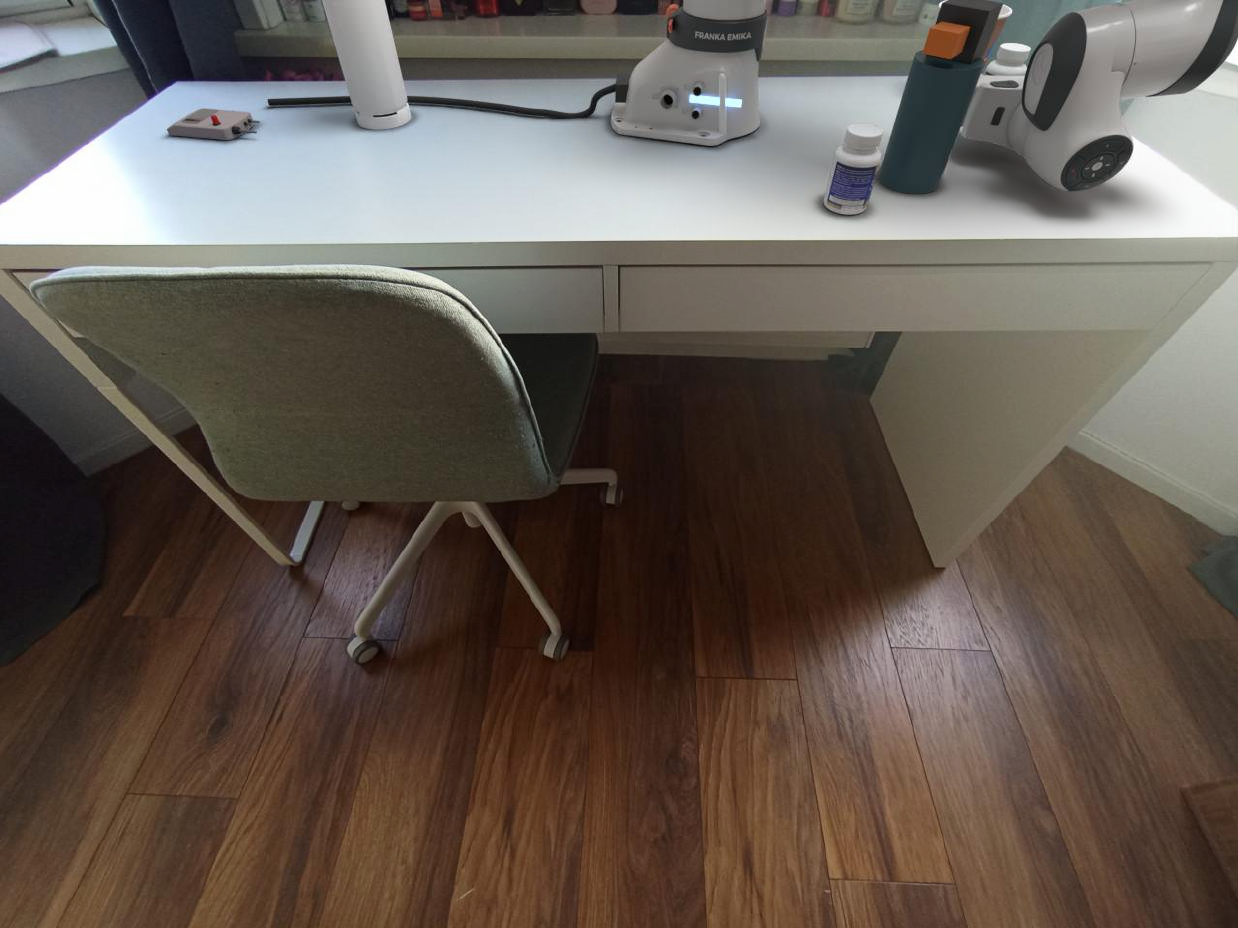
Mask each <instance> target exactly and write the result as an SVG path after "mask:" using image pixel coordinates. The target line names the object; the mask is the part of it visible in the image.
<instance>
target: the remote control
mask: <svg viewBox="0 0 1238 928" xmlns="http://www.w3.org/2000/svg"><path fill="white" fill-rule="evenodd" d="M255 123H256V124H260V123H261V122H260V120H255V119H253V115H252V114H251V112H250V111H243V110H242V111H239V110H227V109H218V108H216V109H215V108H204V107H202V108H198V109H195V110H194V111H193V112H191V113H189V114H187V115H185V116H183V117H182V118H180V119H178V120H176V121H175V122H174V123H172V124H171V125H170V126H168V127H167V128H166V131H167V133H168V135H169V136H174V137H176V136H177V137H187V138H188V137H189V138H197V139H211V140H221V141H231V140H234V139H236V138H238V137H240V136H241V135H243V134H258V132H257V130H250V129H251V128H253V127H254V126H255Z"/></svg>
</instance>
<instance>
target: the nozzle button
mask: <svg viewBox="0 0 1238 928" xmlns="http://www.w3.org/2000/svg"><path fill="white" fill-rule="evenodd" d="M935 24H936V23H935ZM969 30H970V27H969V26H963V25H958V24H952V23H947V22H940V23H938V24H936V25H932V26H931V27H930V28H929V30H928V34H927V36H926V40H925V43H924V46H923V48H922V50H923V52H922V53H923V54H927V55H932V56H937V57H942V58H947V59H952V58H953V57H955V56H956V55H958V54H960V53H961V52H962V50H963V47H964V44H965V41H966V38H967V36H968V33H969Z"/></svg>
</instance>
